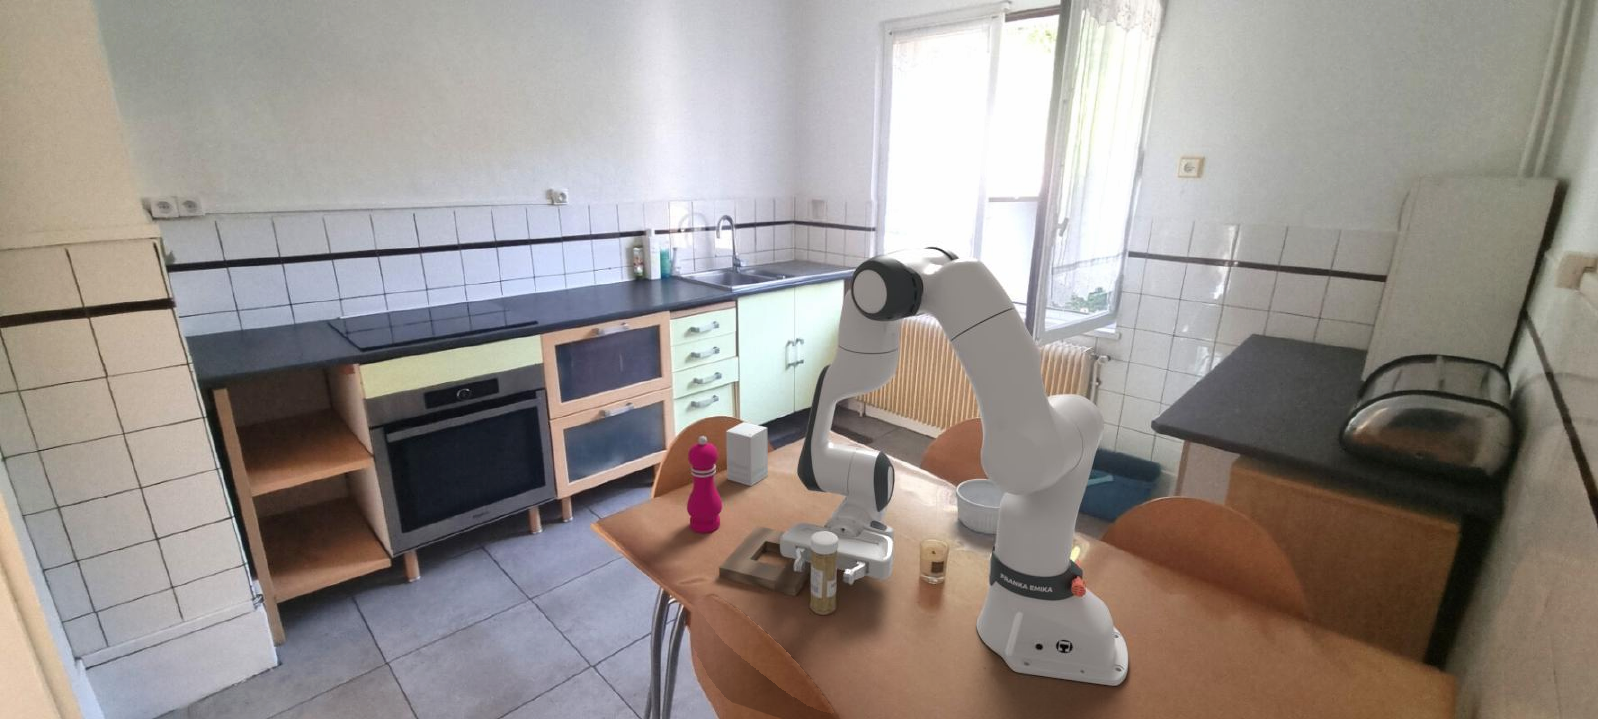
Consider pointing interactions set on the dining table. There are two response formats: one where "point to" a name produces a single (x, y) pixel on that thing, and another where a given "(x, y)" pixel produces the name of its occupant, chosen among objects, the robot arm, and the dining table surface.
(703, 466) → the pepper mill
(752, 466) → the supplement box
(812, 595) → the sprinkles bottle
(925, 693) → the dining table surface
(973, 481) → the ramekin
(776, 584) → the wooden square frame
